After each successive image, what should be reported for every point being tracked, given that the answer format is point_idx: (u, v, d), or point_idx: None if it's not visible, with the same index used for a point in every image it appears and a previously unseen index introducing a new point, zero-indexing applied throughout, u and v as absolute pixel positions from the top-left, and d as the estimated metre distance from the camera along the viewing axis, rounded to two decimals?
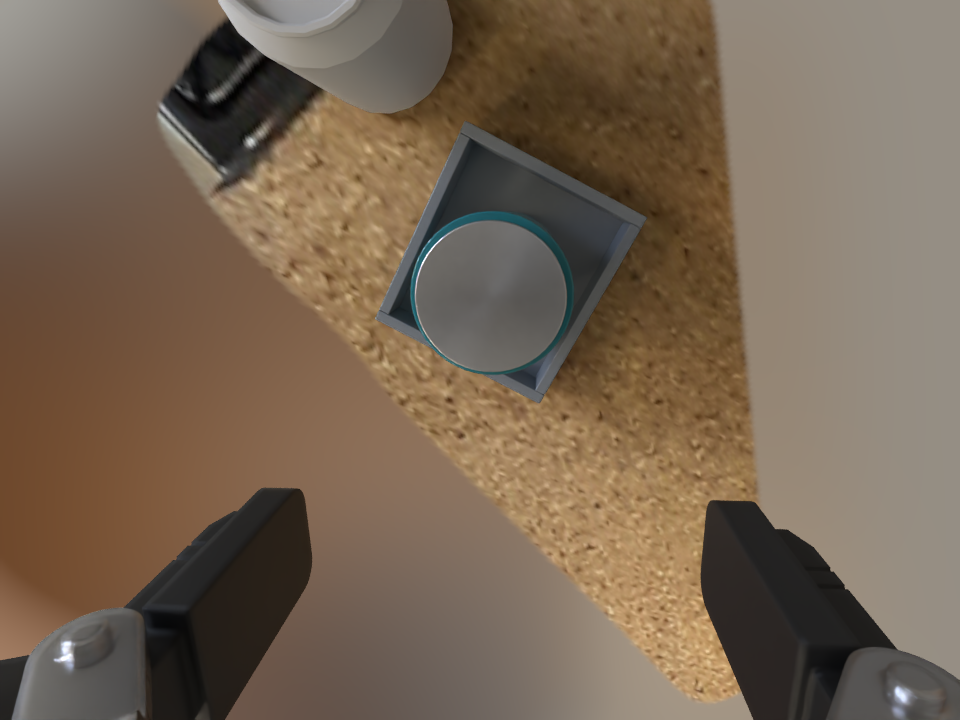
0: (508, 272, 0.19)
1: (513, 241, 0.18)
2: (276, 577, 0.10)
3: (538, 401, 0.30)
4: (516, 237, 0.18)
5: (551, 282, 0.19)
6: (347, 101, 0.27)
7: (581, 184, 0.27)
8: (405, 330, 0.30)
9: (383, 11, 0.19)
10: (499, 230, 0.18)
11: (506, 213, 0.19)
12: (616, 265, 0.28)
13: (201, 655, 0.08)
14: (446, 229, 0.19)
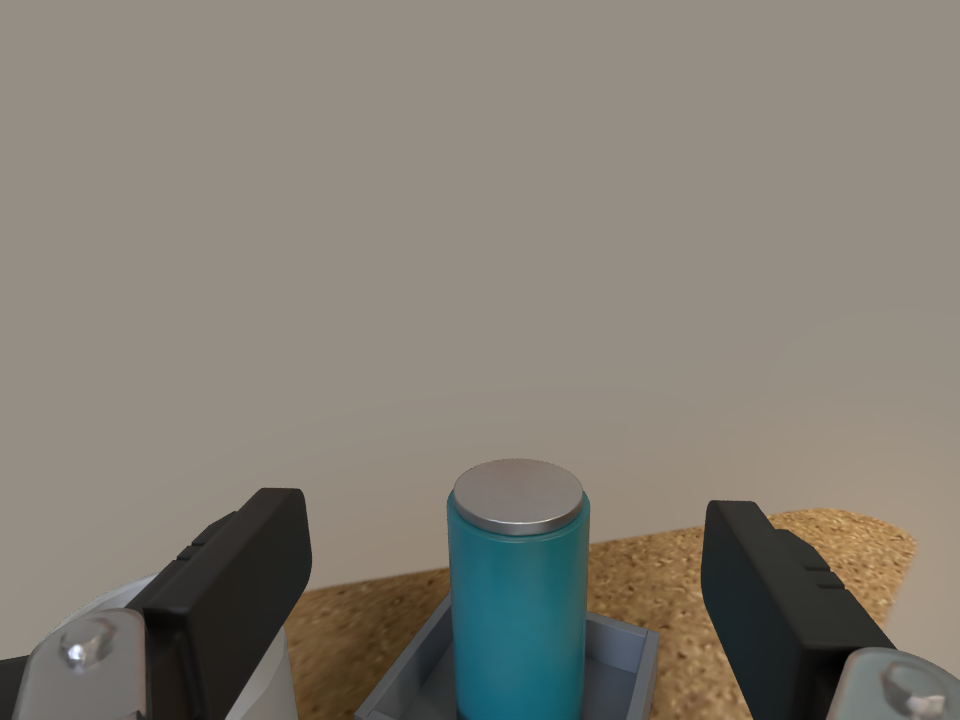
0: (495, 479, 0.23)
1: (470, 478, 0.23)
2: (276, 577, 0.10)
3: (657, 633, 0.27)
4: (467, 477, 0.24)
5: (500, 464, 0.25)
6: None
7: (432, 615, 0.29)
8: None
9: None
10: (461, 484, 0.23)
11: (449, 496, 0.23)
12: None
13: (201, 655, 0.08)
14: (461, 521, 0.21)
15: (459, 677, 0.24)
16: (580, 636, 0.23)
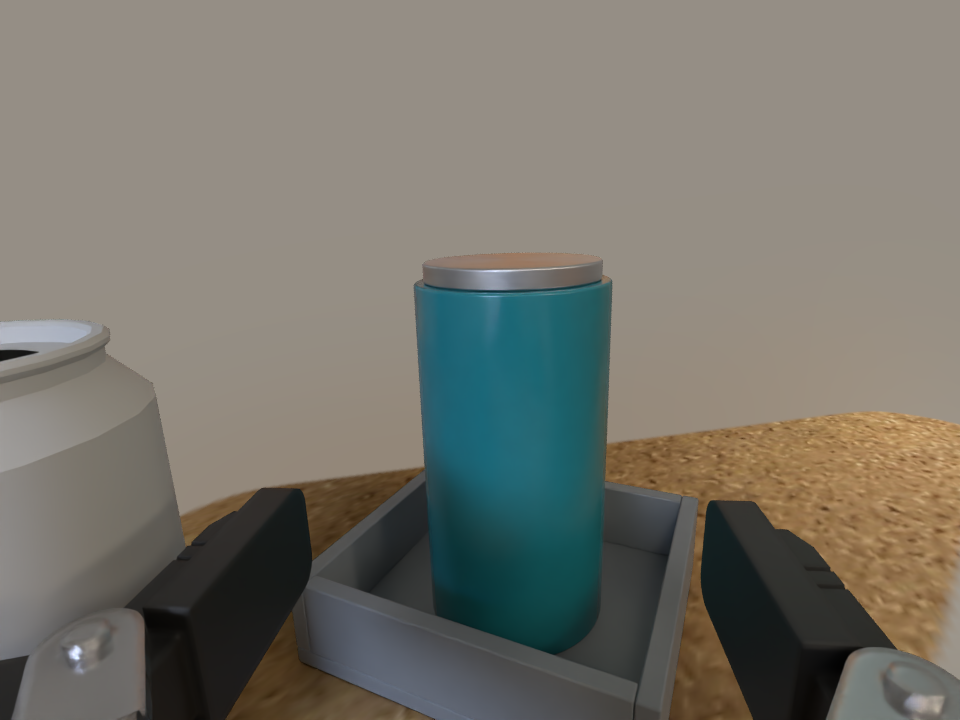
0: (480, 258, 0.17)
1: (447, 259, 0.17)
2: (276, 577, 0.10)
3: (695, 498, 0.21)
4: (442, 259, 0.17)
5: (488, 254, 0.18)
6: None
7: (405, 487, 0.22)
8: (660, 650, 0.14)
9: None
10: (434, 261, 0.17)
11: (418, 281, 0.17)
12: None
13: (201, 655, 0.08)
14: (431, 288, 0.15)
15: (434, 533, 0.17)
16: (599, 466, 0.16)
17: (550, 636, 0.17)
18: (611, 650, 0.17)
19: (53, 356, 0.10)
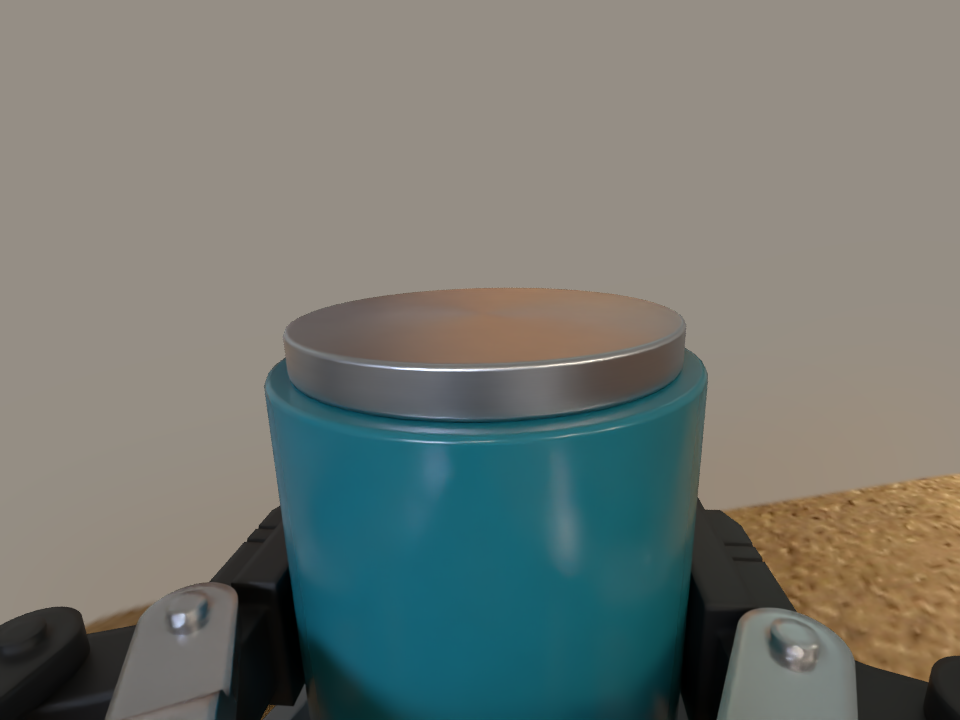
0: (421, 307, 0.08)
1: (354, 307, 0.08)
2: None
3: None
4: (347, 307, 0.09)
5: (446, 292, 0.10)
6: None
7: None
8: None
9: None
10: (323, 314, 0.08)
11: None
12: None
13: (283, 629, 0.08)
14: (283, 393, 0.06)
15: None
16: None
17: None
18: None
19: None
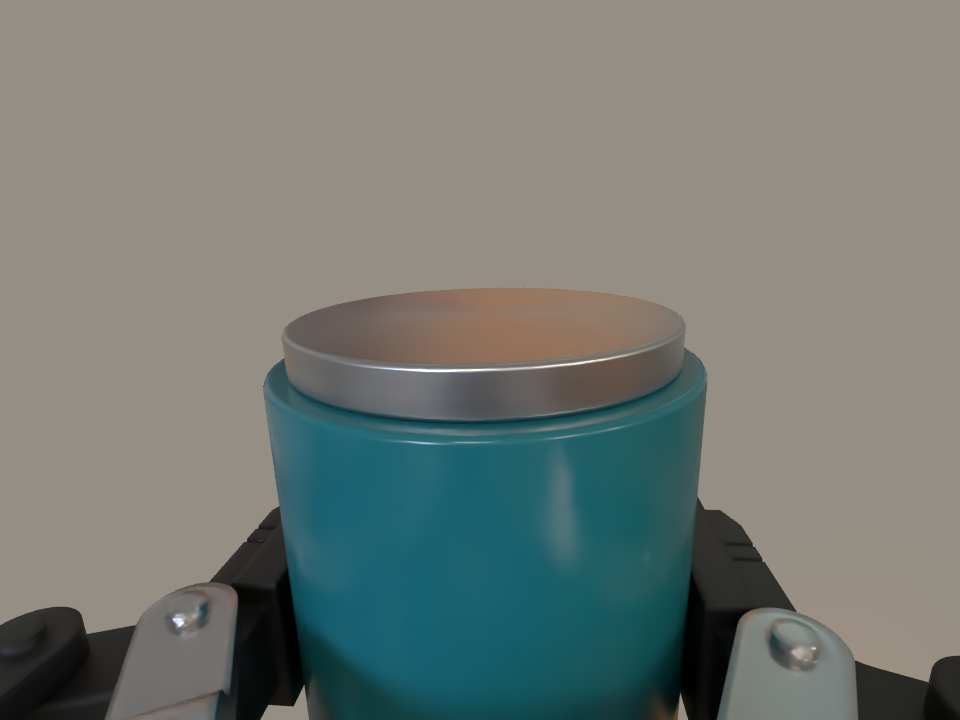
0: (421, 307, 0.08)
1: (353, 307, 0.08)
2: None
3: None
4: (346, 307, 0.09)
5: (446, 293, 0.10)
6: None
7: None
8: None
9: None
10: (322, 315, 0.08)
11: None
12: None
13: (283, 629, 0.08)
14: (283, 394, 0.06)
15: None
16: None
17: None
18: None
19: None
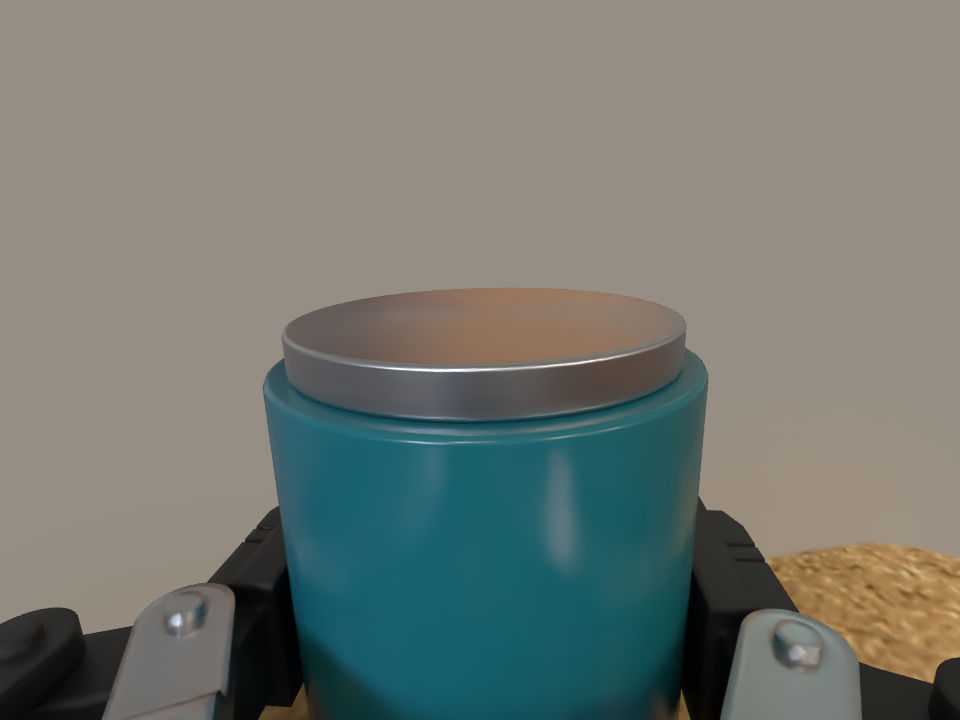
0: (421, 307, 0.08)
1: (353, 307, 0.08)
2: None
3: None
4: (346, 307, 0.08)
5: (446, 292, 0.10)
6: None
7: None
8: None
9: None
10: (322, 314, 0.08)
11: None
12: None
13: (281, 630, 0.08)
14: (282, 394, 0.06)
15: None
16: None
17: None
18: None
19: None
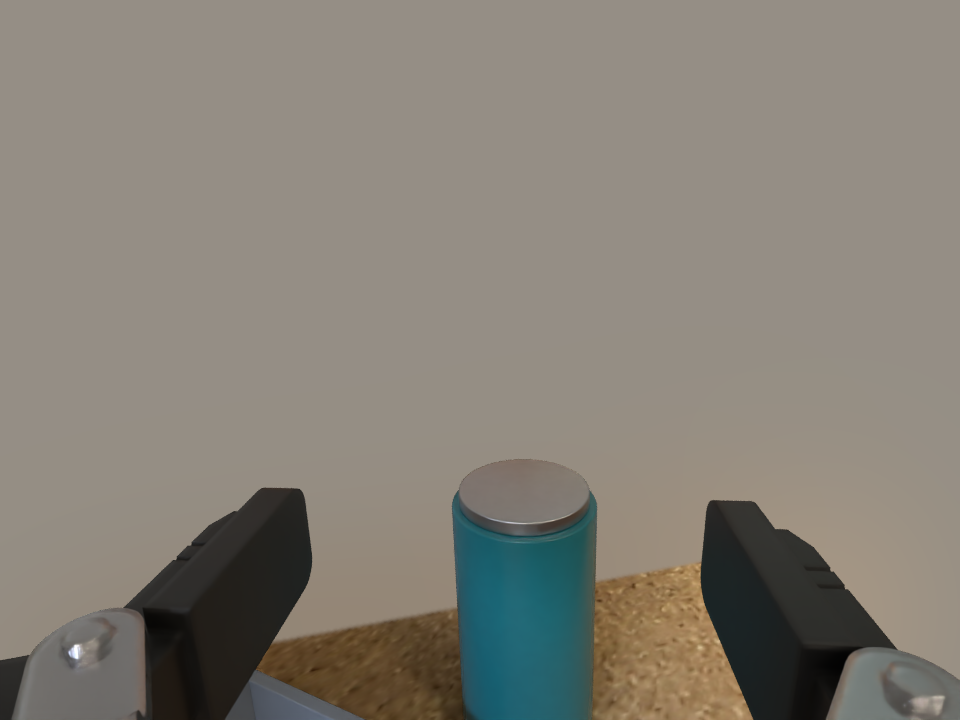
0: (500, 480, 0.23)
1: (475, 479, 0.23)
2: (276, 578, 0.10)
3: None
4: (472, 478, 0.23)
5: (505, 464, 0.24)
6: None
7: None
8: None
9: None
10: (466, 485, 0.23)
11: (454, 497, 0.23)
12: (291, 688, 0.24)
13: (201, 656, 0.08)
14: (466, 522, 0.21)
15: (466, 681, 0.23)
16: (588, 638, 0.22)
17: None
18: None
19: None
